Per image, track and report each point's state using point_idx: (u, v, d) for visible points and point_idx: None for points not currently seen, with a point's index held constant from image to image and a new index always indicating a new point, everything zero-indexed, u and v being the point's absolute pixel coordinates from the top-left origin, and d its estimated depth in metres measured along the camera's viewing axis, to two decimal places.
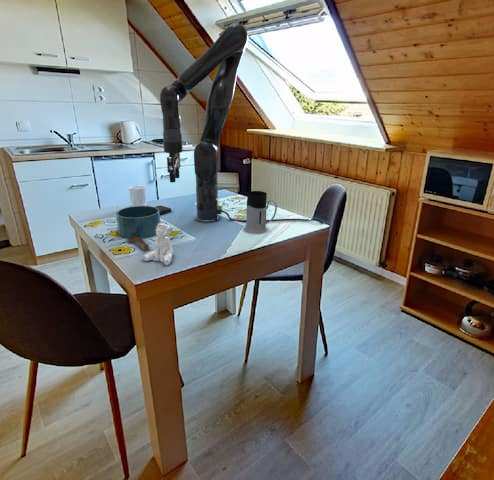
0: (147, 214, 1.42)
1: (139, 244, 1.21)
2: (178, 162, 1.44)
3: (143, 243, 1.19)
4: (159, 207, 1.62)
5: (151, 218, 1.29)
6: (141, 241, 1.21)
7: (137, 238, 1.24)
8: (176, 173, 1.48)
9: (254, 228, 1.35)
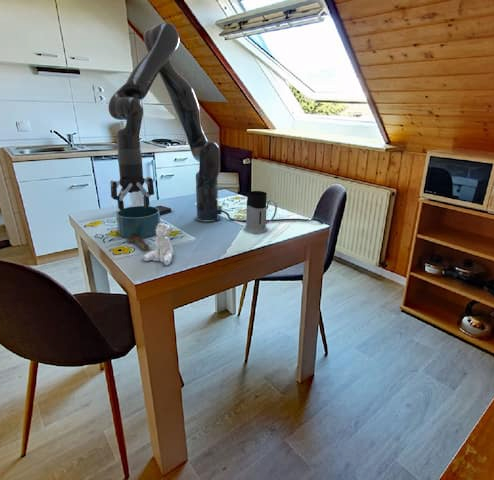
0: (147, 214, 1.42)
1: (139, 244, 1.21)
2: (139, 189, 1.17)
3: (143, 243, 1.19)
4: (159, 207, 1.62)
5: (151, 218, 1.29)
6: (141, 241, 1.21)
7: (137, 238, 1.24)
8: (144, 201, 1.21)
9: (254, 228, 1.35)
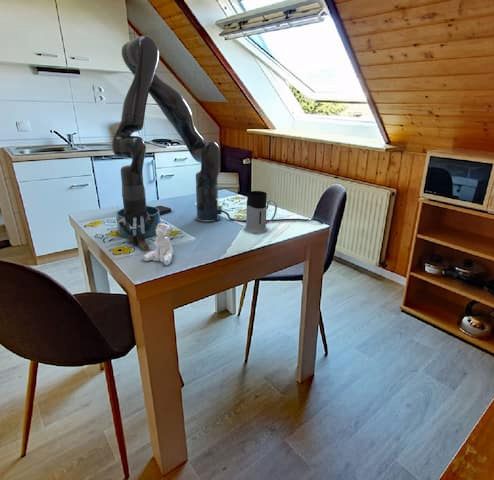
0: None
1: (139, 244, 1.21)
2: (140, 223, 1.20)
3: (143, 243, 1.19)
4: (159, 207, 1.62)
5: None
6: (141, 241, 1.21)
7: (137, 238, 1.24)
8: (140, 238, 1.24)
9: (254, 228, 1.35)
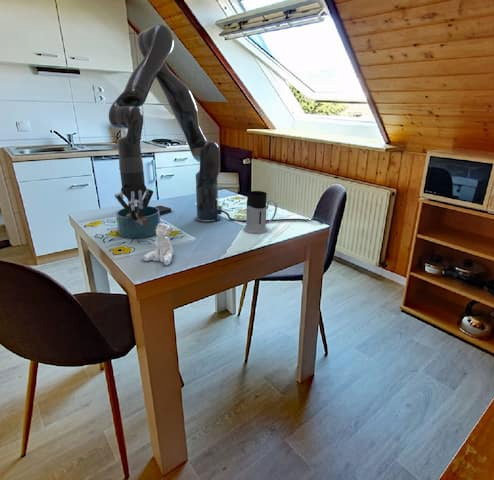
0: (147, 214, 1.42)
1: (138, 220, 1.18)
2: (138, 197, 1.17)
3: (142, 218, 1.16)
4: (159, 207, 1.62)
5: (151, 218, 1.29)
6: (140, 217, 1.18)
7: None
8: (138, 213, 1.20)
9: (254, 228, 1.35)
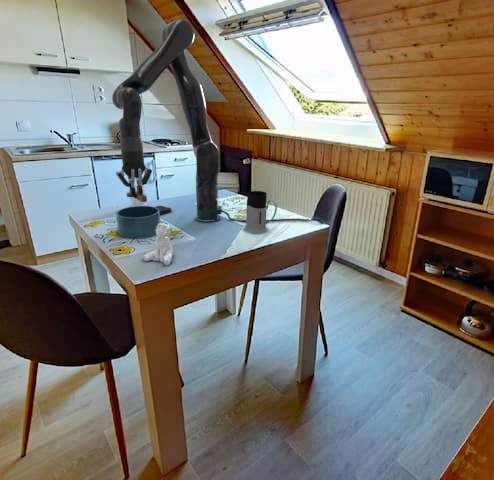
0: (147, 214, 1.42)
1: (137, 197, 1.26)
2: (138, 175, 1.25)
3: (141, 195, 1.24)
4: (159, 207, 1.62)
5: (151, 218, 1.29)
6: (139, 194, 1.26)
7: None
8: (138, 191, 1.28)
9: (254, 228, 1.35)
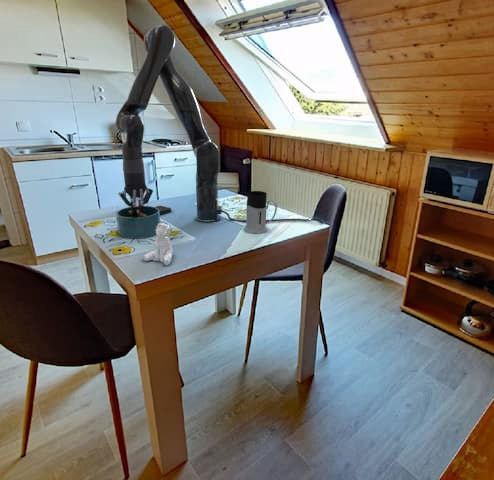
0: (147, 214, 1.42)
1: (139, 216, 1.32)
2: (139, 195, 1.31)
3: (142, 214, 1.30)
4: (159, 207, 1.62)
5: (151, 218, 1.29)
6: (140, 213, 1.32)
7: (137, 211, 1.34)
8: (139, 209, 1.34)
9: (254, 228, 1.35)
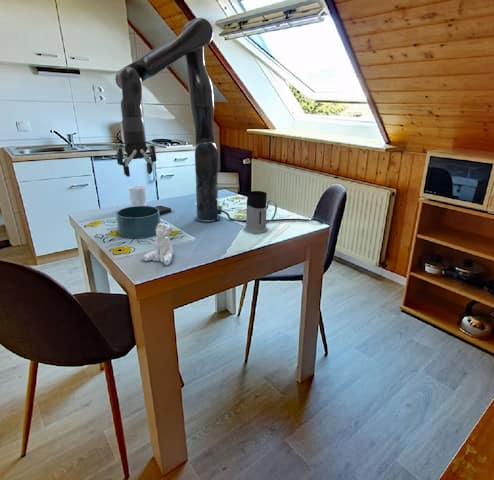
0: (147, 214, 1.42)
1: None
2: (143, 155, 1.27)
3: None
4: (159, 207, 1.62)
5: (151, 218, 1.29)
6: None
7: None
8: (148, 168, 1.31)
9: (254, 228, 1.35)
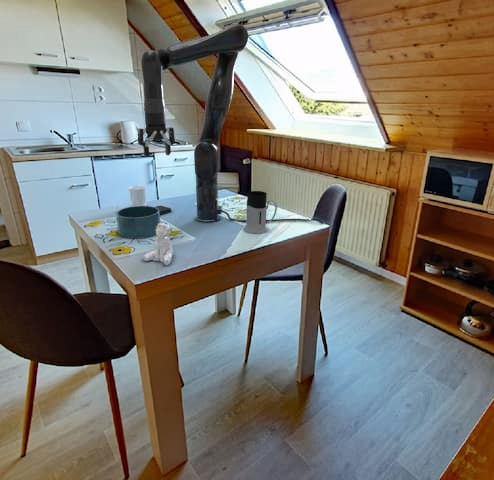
0: (147, 214, 1.42)
1: None
2: (162, 137, 1.32)
3: None
4: (159, 207, 1.62)
5: (151, 218, 1.29)
6: None
7: None
8: (166, 149, 1.36)
9: (254, 228, 1.35)
